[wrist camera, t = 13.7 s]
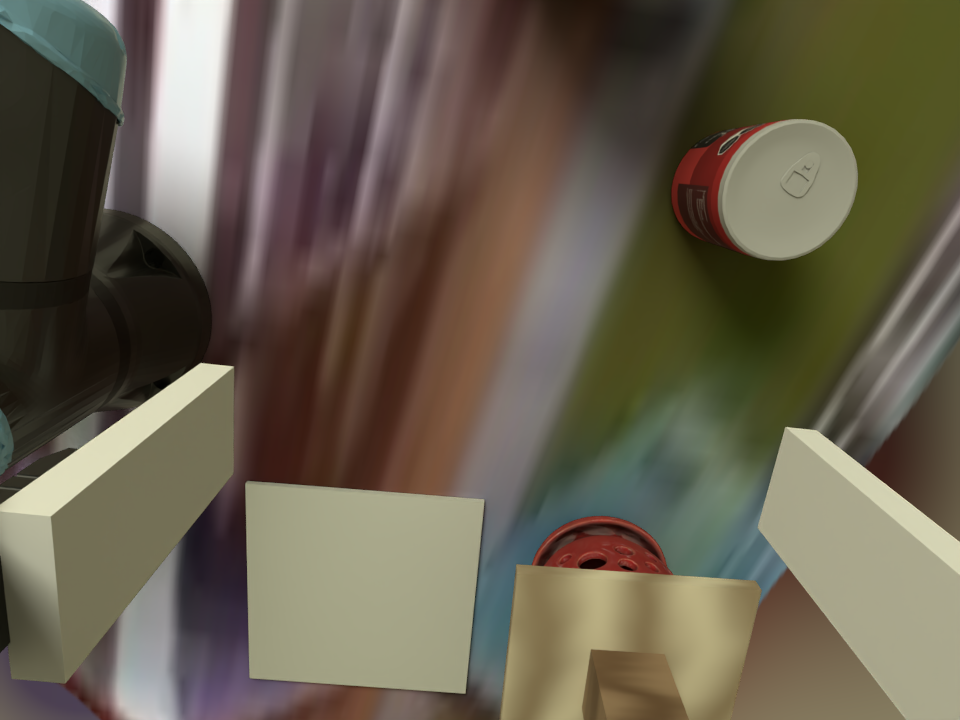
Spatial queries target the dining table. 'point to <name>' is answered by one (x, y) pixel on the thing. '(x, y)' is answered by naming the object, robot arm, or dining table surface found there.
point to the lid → (625, 645)
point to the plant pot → (602, 547)
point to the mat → (361, 586)
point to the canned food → (767, 188)
